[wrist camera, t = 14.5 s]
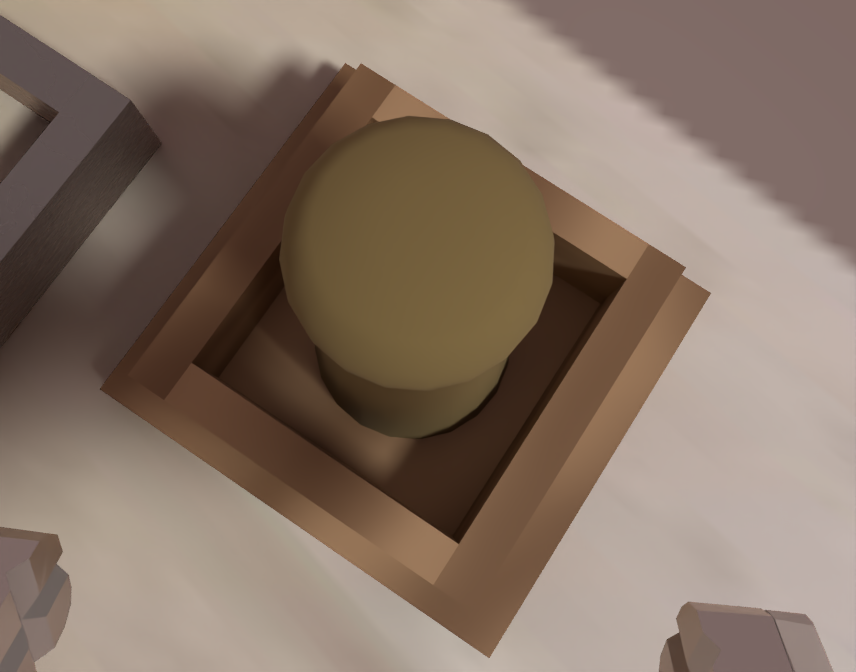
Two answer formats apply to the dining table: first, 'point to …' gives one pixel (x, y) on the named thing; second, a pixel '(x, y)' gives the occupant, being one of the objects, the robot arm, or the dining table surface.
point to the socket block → (59, 167)
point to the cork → (416, 270)
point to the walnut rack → (404, 457)
